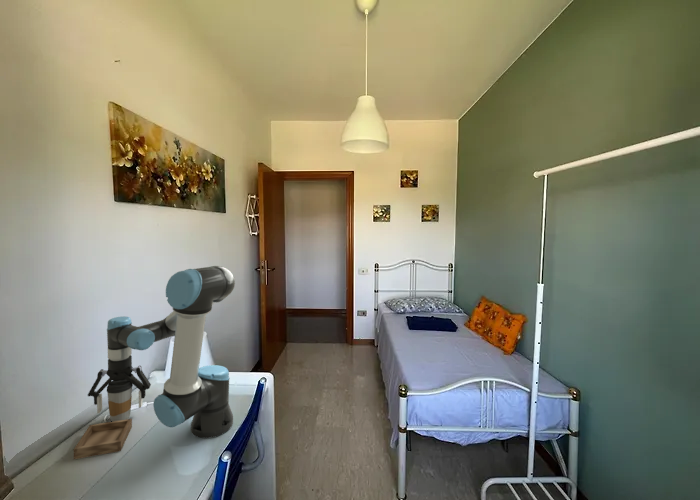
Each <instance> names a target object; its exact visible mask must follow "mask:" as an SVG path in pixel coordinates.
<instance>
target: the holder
mask: <svg viewBox="0 0 700 500" xmlns="http://www.w3.org/2000/svg"><path fill="white" fill-rule="evenodd" d="M132 428H133V418H128V419H126V420H120V421H113V422H111V421H107V422H101V423H94V424H89V425H88V427H87V429H86V430H85V431H84V432H83V435H82V436H81V438H80V439H79V441H77V444H76V445H75V447H74V448H73V450H72V451H73V460H78V459H83V458H89V457H95V456H100V455H106V454H111V453H116V452H121V451H122V450H123V448H124V445H125V443H126V441H127V439H128V437H129V435H130V433H131V430H132Z"/></svg>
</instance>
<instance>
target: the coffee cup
mask: <svg viewBox="0 0 700 500" xmlns="http://www.w3.org/2000/svg"><path fill="white" fill-rule="evenodd" d="M133 386H134V385H133V384H132V383H131V382H130V381H127V380H126V379H125V380H123V381H121V380H119V381H113V380H112V381H111V382H110V383H109V384H108V385H107V386H106V392H107V403H108V413H109V419H110V422H111V421H112V422H113V421H120V420H126V419H130V416H131V409H132V399H133V397H132V396H133V395H132V393H133Z"/></svg>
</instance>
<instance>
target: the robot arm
mask: <svg viewBox="0 0 700 500" xmlns="http://www.w3.org/2000/svg"><path fill="white" fill-rule="evenodd" d="M235 284H236V279H235V277H234V274H233V273H232V272H231V271H230V269H229V268H227V267H223V266H220V265H213V266H207V267H198V268H188V269H184V270H180V271H177V272H175V273H174V274H173V275H171V276H170V277H169V279H168V281H167V283H166V287H165V297H166V298H167V300H166V301H167V303H168V304H169V306H170V307H171V308H172V312H171V313H170V314H168V315H167V316H166V317H164V318H163V319H161V320H158V321H155V322H151V323H148V324H144V325H139V326H136V325H132V324H133V323H132V319H131V317H129V316H116V317H112V318H110V319H109V320H108V321H107V328H106V334H107V335H106V336H107V337H106V338H107V341H106V342H107V358H108V359H107V370H104V369H100V370H99V372H97V376H96V377H97V378H96V379H95V381H94V383H93V385H92V386H91V388H90V390H89V392H88V393H87V397H93V404H94V405H95V406H96V408H97V409H96V410H97V411H96V414H100V413H101V412H102V411H103V393H102V392H103V391H104V390H105V388H107V386H108V384H109V383H110V382H111V381H119V380H121V381H123V380H125V379H126V380H127V381H130V382H131V383H132V384H133V386H134V387H135V388H137V390H139V391H138V408H139V409H141V408H142V406H143V404H144V403H143V402H144V401H143V399H145V397H146V391H147V390H149V389H150V388H151V385H152V384H151V383H150V380H149V379H148V377H147V376H146V375H145V373H144V371H143V369H142V366H141V365H138V366H136V367H133V361H132V359H133V357H132V351H133V350H136V351H146V350H147V349H149V348H150V347H152V346H153V345H154V344H155V343H156V342H159V341H162V340H165V339H169V338H171V337H174V338H173V339H174V340H173V348H172V356H171V363H170V364H171V367H170V373H169V374H170V375H169V378H167V379H166V380H165V382H164V384H163V391H162V393H161V394H158V395H157V396H156V397H155V398H154V400H153V405H152V406H153V411H154V414H155V416H156V418H157V419H158V420H159V422H160V423H161V424H163V425H164V426H165V427H167V428H176V427H177V426H179V425H181V424H183V423H185V422H186V421H188V420H189V419H191V418H192V420H191V423H190V432H191V434H192V435H193V436H195V438H198V439H199V438H200V439H211V438H215V436H216V437H218V435H219V436H221V435H223V434H225V433H227V432H228V431H229V430H230V429H231V428H232V426H233V424H234V415H233V411H232V409H231V407H230V404H229V402H230V401H229V400H230V399H229V398H230V372H229V370H228V368H227V367H226V366H223V365H216V364H211V365H204V366H201V367H200V364H201V358H202V356H201V355H202V348H203V340H204V334H205V333H204V332H205V326H206V318H207V317H206V316H207V315H208V314H209V313H210V312H211V311H212V309H213V305H214V304H215V303H220V302H222V301H223V300H225V299H226V298H227V297H228V296H229V295H231V293H232V292H233V291H234V289H235ZM133 372H134V373H135V374H136V375H137V377H138V378H137V377H135V375H134V374H133ZM106 375H107V377H108V379H107V380H106V381H105V382H103V384H102V385H101V386H100V387H99V388H98V389H97V387H98V386H99V384H100V382H101V380H102V379H103V377H105V376H106ZM96 389H97V390H96ZM95 390H96V391H95ZM230 427H231V428H230ZM224 432H225V433H224ZM222 433H223V434H222ZM220 434H221V435H220Z"/></svg>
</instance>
